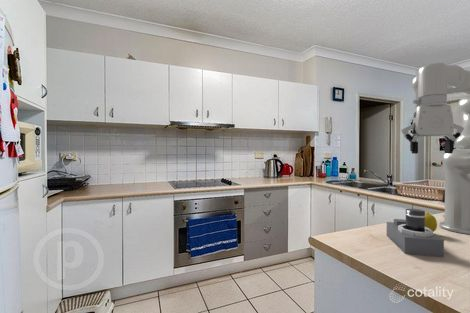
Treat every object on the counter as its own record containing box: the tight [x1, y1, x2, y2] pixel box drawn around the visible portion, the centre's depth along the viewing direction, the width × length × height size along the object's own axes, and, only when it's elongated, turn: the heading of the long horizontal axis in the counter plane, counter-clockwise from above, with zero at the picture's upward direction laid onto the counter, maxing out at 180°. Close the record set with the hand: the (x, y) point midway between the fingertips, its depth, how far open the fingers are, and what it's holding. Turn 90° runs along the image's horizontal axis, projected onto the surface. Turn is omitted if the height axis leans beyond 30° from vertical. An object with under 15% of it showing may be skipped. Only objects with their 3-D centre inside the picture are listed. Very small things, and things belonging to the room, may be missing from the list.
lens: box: [405, 208, 426, 232], centre depth 77 cm, size 5×5×7 cm
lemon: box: [425, 212, 438, 233], centre depth 89 cm, size 6×6×8 cm
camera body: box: [386, 218, 445, 258], centre depth 79 cm, size 16×10×6 cm, turn 165°
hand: (431, 153), depth 81 cm, fingers open, 9 cm apart
